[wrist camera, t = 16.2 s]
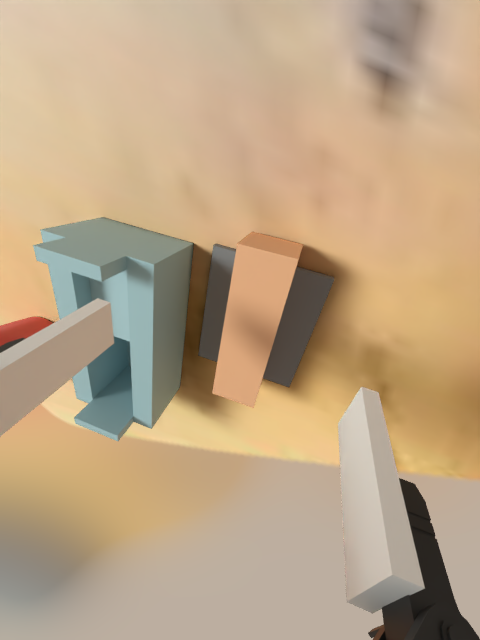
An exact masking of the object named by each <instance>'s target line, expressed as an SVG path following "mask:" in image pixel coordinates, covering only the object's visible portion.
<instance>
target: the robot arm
mask: <svg viewBox="0 0 480 640" xmlns="http://www.w3.org/2000/svg"><path fill="white" fill-rule="evenodd" d="M112 344H114V336H113V325H112V315H111V304H110V302H107V301H104V300H101V299H98V298H97V299H96V300H94V301H92V302H90V303H88V304H87V305H85V306H83V307H81V308H80V309H78V310H76V311H74V312H72V313H71V314H69V315H67V316H65V317H64V318H62V319H60V320H58V321H56V322H55V323H53V324H51V325H49V326H48V327H46V328H44V329H42V330H40V331H39V332H37V333H35V334H33V335H32V336H30V337H28V338H26V339H25V338H20V339H17V340H14V341H10V342H7V343H5V344H4V345H2V346H0V436H1V435H3V434H4V433H5V432H6V431H8V430H9V429H10V428H11V427H12V426H14V425H15V424H16V423H17V422H18V421H19V420H21V419H22V418H23V417H25V416H26V415H27V414H28V413H29V412H31V411H32V410H33V409H34V408H35V407H37V406H38V405H39V404H40V403H42V402H43V401H44V400H45V399H47V398H48V397H49V396H50V395H51V394H53V393H54V392H55V391H56V390H58V389H59V388H60V387H61V386H62V385H64V384H65V383H66V382H67V381H69V380H70V379H71V378H72V377H73V376H75V375H76V374H77V373H78V372H80V371H81V370H82V369H83V368H84V367H86V366H87V365H88V364H89V363H91V362H92V361H93V360H94V359H95V358H97V357H98V356H99V355H100V354H102V353H103V352H104V351H105V350H106V349H108V348H109V347H110V346H111V345H112ZM338 433H339V453H340V473H341V494H342V515H343V535H344V556H345V577H346V597H347V602H348V603H351V604H353V605H355V606H357V607H359V608H362V609H364V610H366V611H368V612H371V613H374V612H376V611H378V610H380V609H382V612H383V620H384V625H381V626H379V627H377V628H374V629H372V630H371V631H370V632H369V633H368V634H369V635H370V637H371V638H373V637H374V638H373V640H480V639H479V637H478V635H477V634H476V632H475V631H474V630H473V628H472V627H471V625H470V624H469V623H468V621H467V620H466V619H465V618H464V617H462V616H461V614H460V612H459V610H458V607H457V604H456V602H455V599H454V596H453V593H452V589H451V586H450V583H449V579H448V576H447V573H446V569H445V566H444V563H443V559H442V556H441V553H440V549H439V546H438V542H437V539H435V533H434V529H433V526H432V523H430V520H431V519H430V516H429V512H428V509H427V506H426V502H425V500H424V499H423V497H422V495H421V494H420V492H419V490H418V489H417V487H416V485H415V484H413V483H411V482H408V481H405V480H403V479H400V478H399V477H398V473H397V469H396V464H395V460H394V456H393V452H392V447H391V443H390V439H389V435H388V430H387V426H386V422H385V418H384V414H383V409H382V405H381V401H380V397H379V392H376V391H373V390H370V389H367V388H364V387H361V388H360V390H359V391H358V393H357V394H356V396H355V398H354V399H353V401H352V402H351V404H350V405H349V407H348V409H347V410H346V412H345V413H344V415H343V416H342V418H341V420H340V421H339V423H338Z"/></svg>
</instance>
